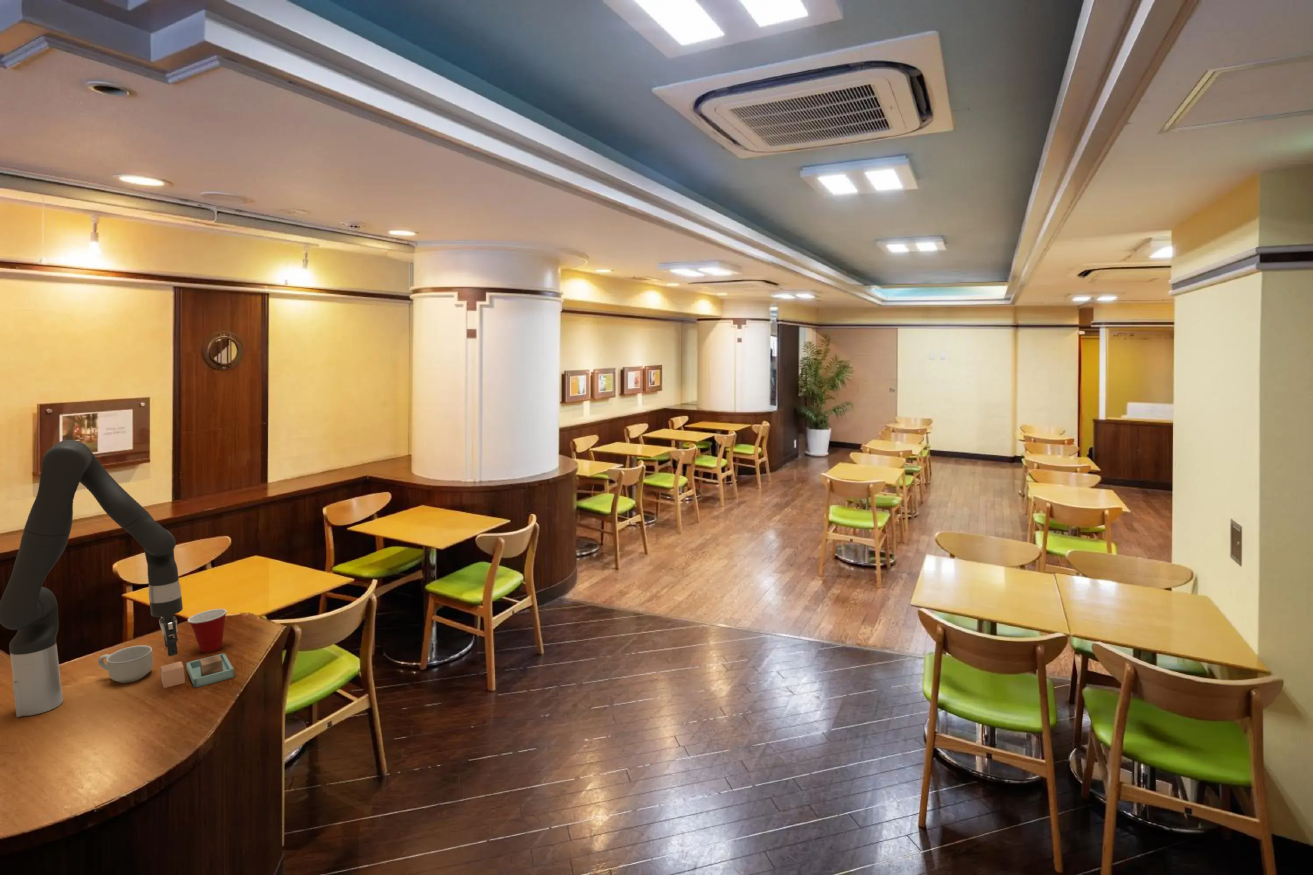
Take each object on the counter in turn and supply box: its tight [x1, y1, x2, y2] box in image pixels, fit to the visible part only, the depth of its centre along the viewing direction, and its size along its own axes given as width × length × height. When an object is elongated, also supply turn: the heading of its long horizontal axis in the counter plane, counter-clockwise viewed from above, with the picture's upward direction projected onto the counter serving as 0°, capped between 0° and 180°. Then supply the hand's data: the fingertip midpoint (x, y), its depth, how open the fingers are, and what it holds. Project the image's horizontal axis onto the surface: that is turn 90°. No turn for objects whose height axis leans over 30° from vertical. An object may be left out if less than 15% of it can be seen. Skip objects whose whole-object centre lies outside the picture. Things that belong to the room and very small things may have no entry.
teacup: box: [97, 644, 154, 684], centre depth 198 cm, size 14×11×8 cm
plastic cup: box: [187, 608, 227, 653], centre depth 217 cm, size 11×11×12 cm
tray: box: [185, 652, 235, 689], centre depth 200 cm, size 10×15×2 cm, turn 42°
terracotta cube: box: [160, 661, 186, 689], centre depth 195 cm, size 5×5×5 cm
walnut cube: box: [200, 654, 223, 677], centre depth 198 cm, size 5×5×5 cm
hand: (171, 650), depth 194 cm, fingers open, 8 cm apart
